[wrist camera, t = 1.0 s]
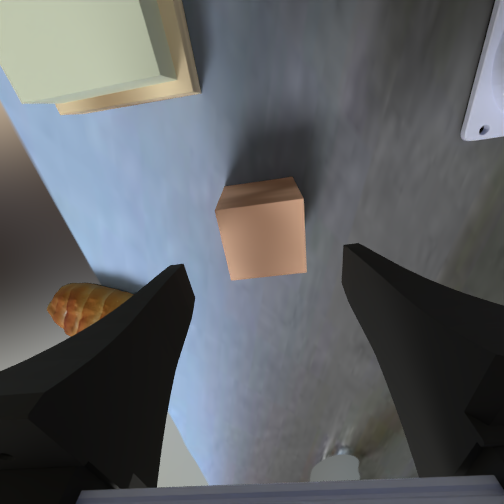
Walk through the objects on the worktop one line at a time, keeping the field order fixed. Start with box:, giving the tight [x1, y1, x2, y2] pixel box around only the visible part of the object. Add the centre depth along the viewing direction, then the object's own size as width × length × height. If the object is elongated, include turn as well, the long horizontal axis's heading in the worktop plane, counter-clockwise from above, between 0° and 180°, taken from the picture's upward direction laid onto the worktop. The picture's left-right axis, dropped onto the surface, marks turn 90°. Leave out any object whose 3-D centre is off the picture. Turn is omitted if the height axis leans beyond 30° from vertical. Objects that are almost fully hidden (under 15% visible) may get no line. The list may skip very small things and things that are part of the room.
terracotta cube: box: [215, 177, 307, 280], centre depth 15 cm, size 4×4×4 cm
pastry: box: [47, 283, 134, 336], centre depth 21 cm, size 9×7×4 cm
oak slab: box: [55, 0, 201, 115], centre depth 11 cm, size 7×7×2 cm
